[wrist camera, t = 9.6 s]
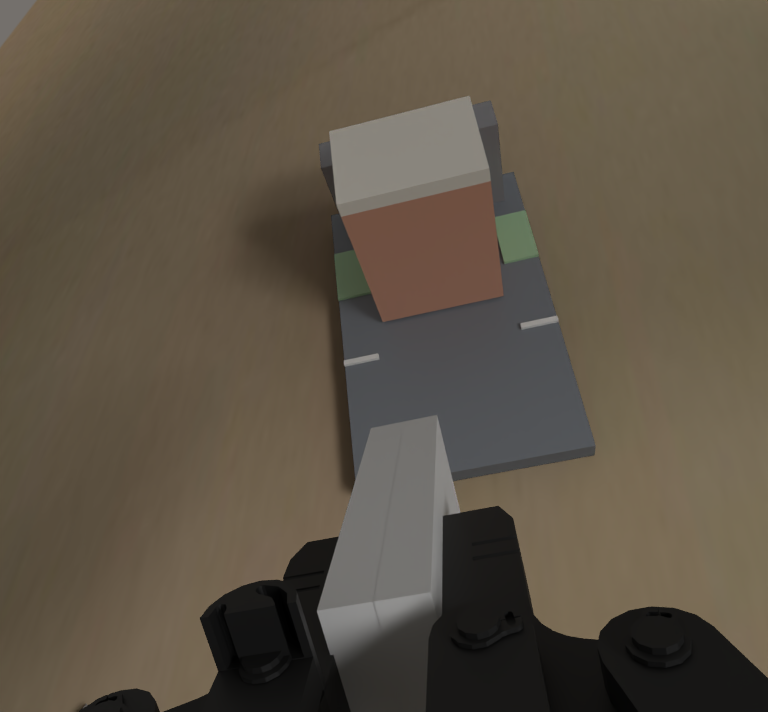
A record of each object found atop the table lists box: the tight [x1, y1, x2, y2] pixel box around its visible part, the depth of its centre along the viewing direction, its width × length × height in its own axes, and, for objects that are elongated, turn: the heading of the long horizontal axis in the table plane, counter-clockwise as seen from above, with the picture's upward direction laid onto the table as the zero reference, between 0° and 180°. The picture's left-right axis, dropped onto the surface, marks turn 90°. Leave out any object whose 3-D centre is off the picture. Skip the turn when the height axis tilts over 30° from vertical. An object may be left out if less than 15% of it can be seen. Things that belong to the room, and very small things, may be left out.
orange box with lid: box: [329, 96, 504, 322], centre depth 36 cm, size 7×5×10 cm
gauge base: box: [319, 101, 595, 481], centre depth 37 cm, size 12×19×7 cm, turn 7°
